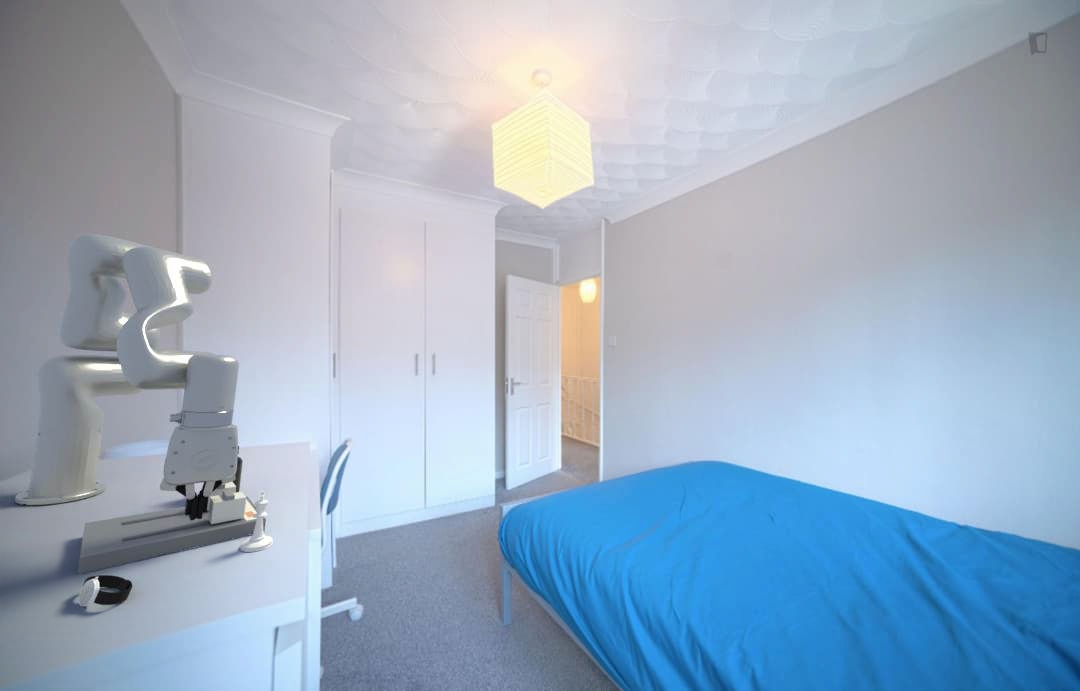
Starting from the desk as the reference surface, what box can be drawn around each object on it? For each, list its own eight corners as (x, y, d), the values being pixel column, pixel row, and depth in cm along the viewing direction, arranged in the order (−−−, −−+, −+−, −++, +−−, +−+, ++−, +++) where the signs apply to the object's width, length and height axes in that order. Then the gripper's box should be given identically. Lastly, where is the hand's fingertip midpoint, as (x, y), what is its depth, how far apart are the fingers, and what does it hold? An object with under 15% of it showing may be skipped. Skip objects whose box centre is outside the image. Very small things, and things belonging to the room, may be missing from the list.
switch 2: (207, 517, 75) (210, 492, 75) (239, 511, 79) (242, 487, 79) (211, 524, 72) (214, 498, 72) (244, 517, 76) (246, 493, 76)
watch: (67, 599, 54) (71, 573, 54) (115, 582, 58) (118, 558, 58) (93, 617, 51) (97, 589, 51) (141, 598, 55) (144, 572, 55)
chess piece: (237, 554, 68) (243, 497, 68) (243, 541, 72) (249, 488, 73) (270, 549, 70) (276, 494, 71) (274, 538, 75) (280, 486, 75)
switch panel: (83, 537, 70) (85, 522, 70) (245, 507, 87) (247, 495, 88) (77, 574, 59) (80, 556, 59) (264, 531, 77) (265, 518, 77)
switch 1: (199, 505, 80) (202, 481, 80) (229, 500, 84) (232, 477, 84) (202, 511, 77) (205, 487, 77) (234, 505, 81) (236, 482, 81)
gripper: (152, 425, 65) (138, 535, 64) (259, 420, 76) (248, 514, 75) (150, 418, 70) (137, 520, 69) (250, 414, 81) (240, 502, 80)
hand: (195, 517), depth 72 cm, fingers closed
